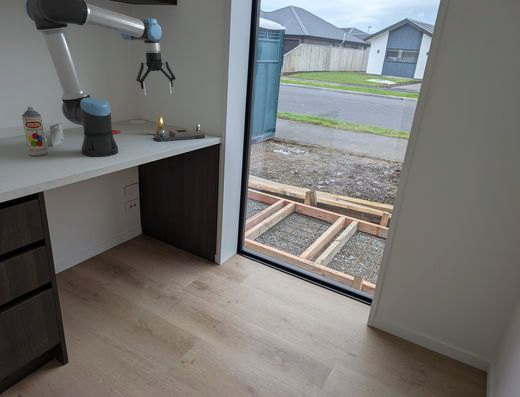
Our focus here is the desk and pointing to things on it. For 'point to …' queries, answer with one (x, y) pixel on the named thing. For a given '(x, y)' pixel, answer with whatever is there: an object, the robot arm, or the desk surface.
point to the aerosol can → (34, 133)
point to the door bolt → (181, 134)
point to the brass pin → (159, 124)
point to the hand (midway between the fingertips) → (158, 94)
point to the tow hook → (115, 131)
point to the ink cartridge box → (55, 135)
